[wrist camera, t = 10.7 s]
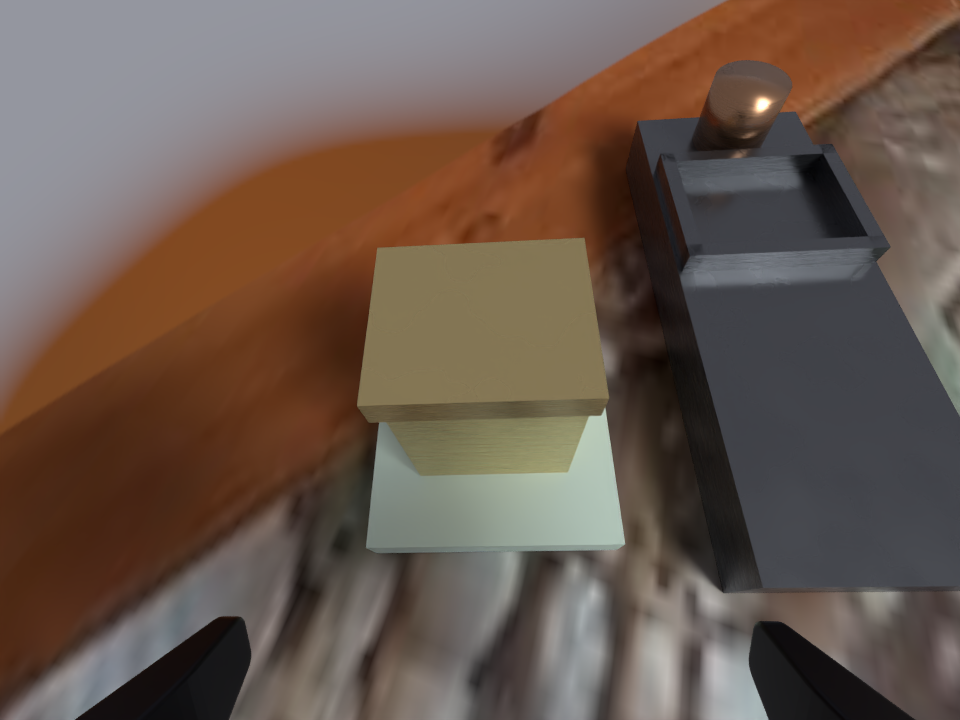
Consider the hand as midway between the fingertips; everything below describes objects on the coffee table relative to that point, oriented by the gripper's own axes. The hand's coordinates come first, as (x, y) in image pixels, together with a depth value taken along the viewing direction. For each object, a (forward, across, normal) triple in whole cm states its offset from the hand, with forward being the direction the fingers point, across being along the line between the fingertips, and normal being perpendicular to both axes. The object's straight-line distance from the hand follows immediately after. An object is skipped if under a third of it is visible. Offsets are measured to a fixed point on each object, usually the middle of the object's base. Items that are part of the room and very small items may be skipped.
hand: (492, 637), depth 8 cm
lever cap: (+10, 0, 0) cm, 11 cm away
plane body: (+15, -12, -2) cm, 19 cm away
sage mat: (+12, 0, +2) cm, 12 cm away
